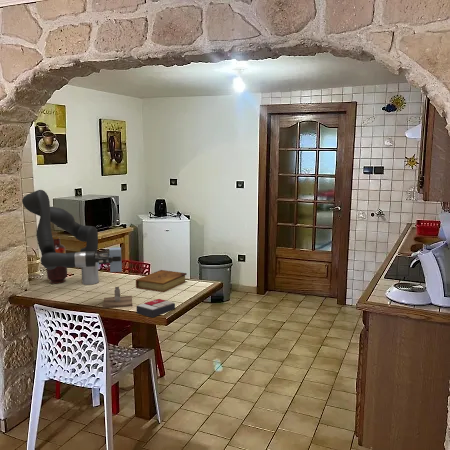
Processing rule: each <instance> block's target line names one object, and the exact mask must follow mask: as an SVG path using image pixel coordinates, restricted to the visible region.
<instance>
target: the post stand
mask: <svg viewBox="0 0 450 450" xmlns="http://www.w3.org/2000/svg"><path fill="white" fill-rule="evenodd" d="M102 302H103V303H102V309H112V308H113V309H115V308H127V307H133V296H132V295H123V296H121V289H120V286H115V288H114V296H110V297H104V298H103V301H102Z"/></svg>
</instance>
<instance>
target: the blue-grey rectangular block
mask: <svg viewBox="0 0 450 450" xmlns="http://www.w3.org/2000/svg"><path fill="white" fill-rule="evenodd" d="M108 250H109V252H108V253H110V256H109V257H121V258H122V246H121V247H109V249H108ZM122 268H123V267H122V260H121V261H114V262H112V263H109V272H110V273H121V272H122V271H123V270H122Z"/></svg>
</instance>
